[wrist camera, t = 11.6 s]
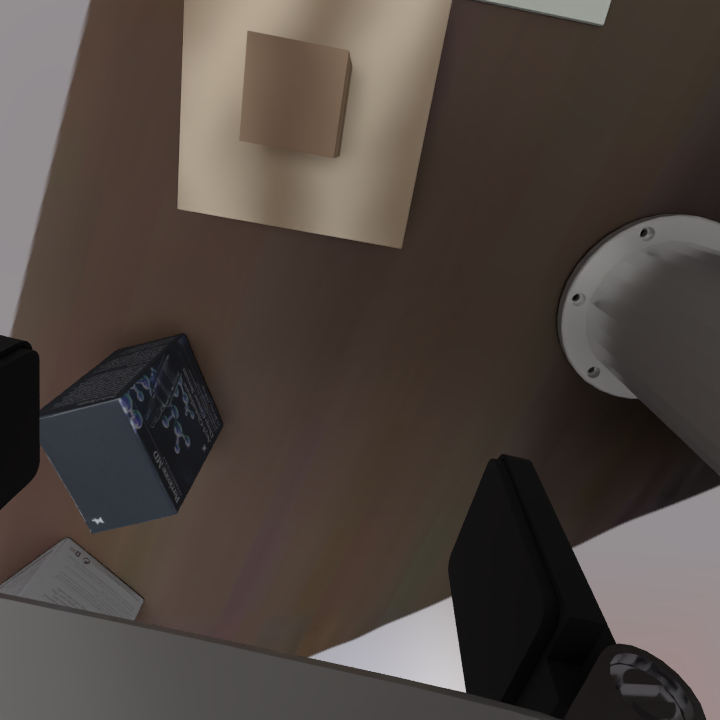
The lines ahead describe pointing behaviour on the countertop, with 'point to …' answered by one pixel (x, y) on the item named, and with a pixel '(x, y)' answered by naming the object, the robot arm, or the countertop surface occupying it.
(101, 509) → the box
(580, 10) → the mat
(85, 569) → the supplement box
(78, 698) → the robot arm
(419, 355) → the countertop surface
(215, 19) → the lid
